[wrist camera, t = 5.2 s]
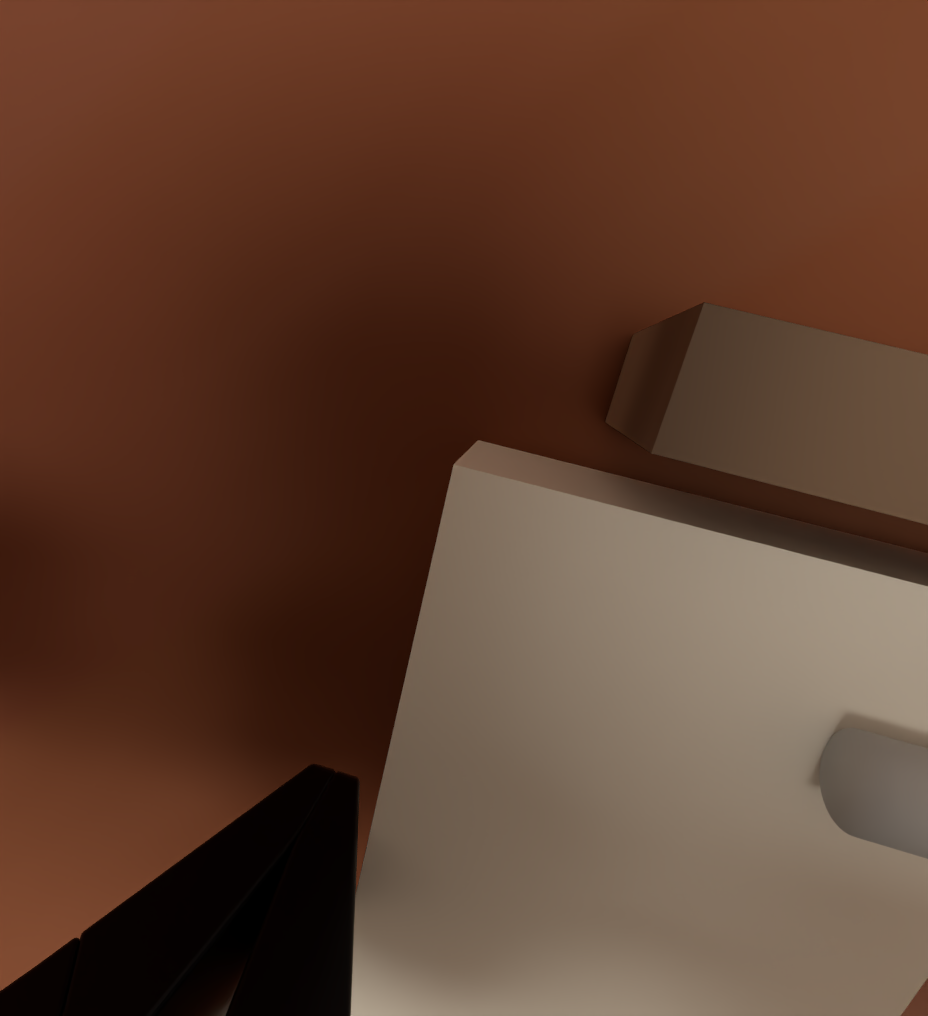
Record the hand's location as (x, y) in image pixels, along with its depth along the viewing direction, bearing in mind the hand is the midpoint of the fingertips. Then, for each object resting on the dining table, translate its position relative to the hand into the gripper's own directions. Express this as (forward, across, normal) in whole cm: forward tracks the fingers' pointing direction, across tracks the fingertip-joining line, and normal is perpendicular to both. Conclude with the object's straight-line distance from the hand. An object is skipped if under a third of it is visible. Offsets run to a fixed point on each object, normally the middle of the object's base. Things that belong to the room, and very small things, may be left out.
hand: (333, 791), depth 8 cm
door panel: (+2, -4, 0) cm, 5 cm away
